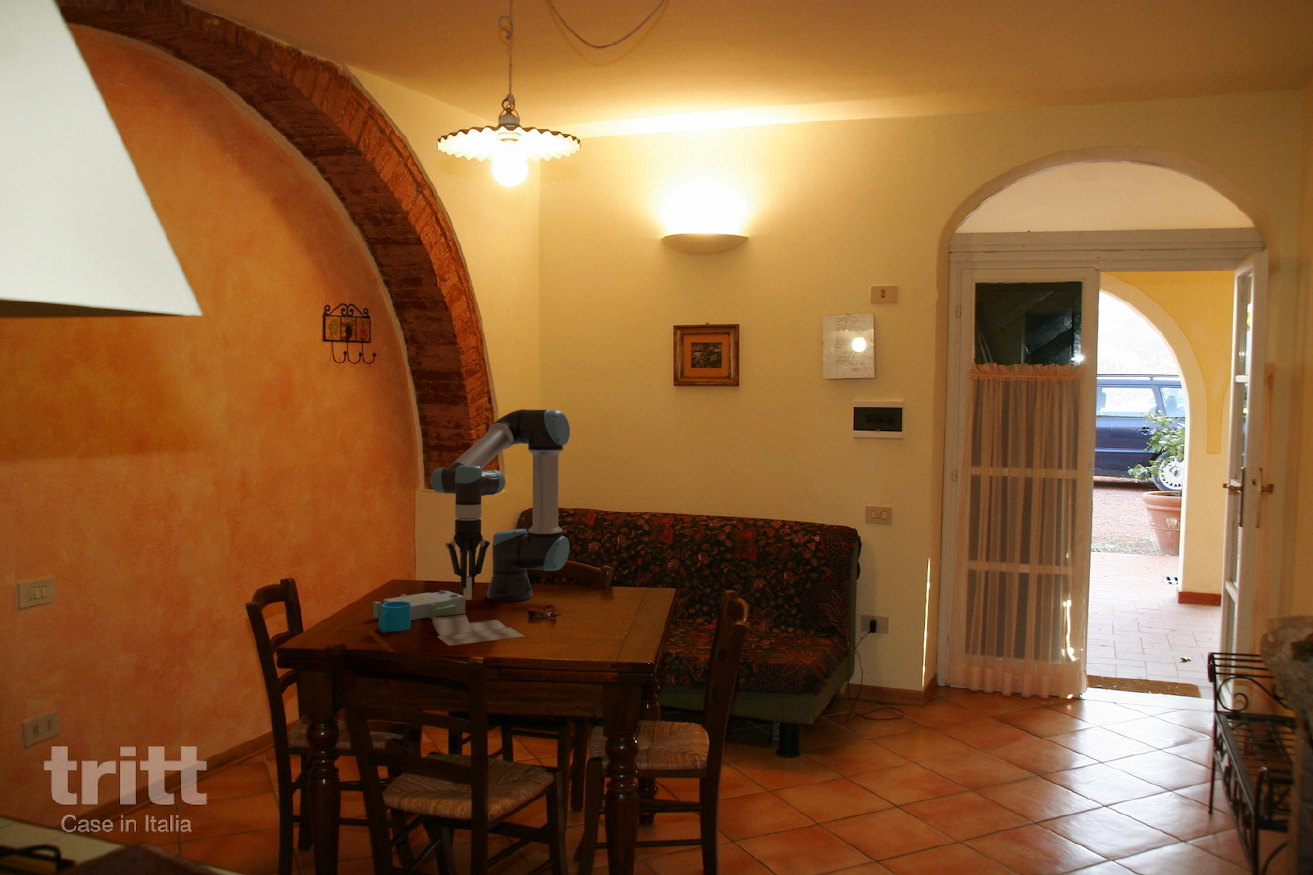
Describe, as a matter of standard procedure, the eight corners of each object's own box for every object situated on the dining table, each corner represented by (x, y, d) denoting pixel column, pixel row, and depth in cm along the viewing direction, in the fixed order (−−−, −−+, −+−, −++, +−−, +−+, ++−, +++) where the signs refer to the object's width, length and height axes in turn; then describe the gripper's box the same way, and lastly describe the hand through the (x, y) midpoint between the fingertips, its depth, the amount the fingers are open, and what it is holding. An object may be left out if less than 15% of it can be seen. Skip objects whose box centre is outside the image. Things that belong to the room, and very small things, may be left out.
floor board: (510, 631, 277) (510, 627, 277) (524, 640, 268) (524, 635, 268) (436, 640, 266) (436, 636, 266) (449, 649, 257) (449, 645, 256)
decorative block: (440, 586, 311) (472, 596, 296) (440, 605, 311) (472, 616, 296) (366, 597, 293) (397, 608, 278) (366, 617, 293) (397, 630, 279)
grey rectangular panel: (474, 635, 272) (475, 631, 272) (465, 627, 279) (466, 623, 279) (506, 631, 277) (507, 627, 277) (497, 623, 284) (497, 619, 284)
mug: (393, 627, 281) (392, 600, 280) (416, 630, 278) (416, 602, 277) (367, 637, 269) (367, 608, 269) (391, 640, 267) (391, 611, 266)
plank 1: (440, 639, 267) (440, 635, 267) (432, 621, 273) (433, 618, 273) (473, 634, 272) (473, 631, 272) (465, 618, 278) (465, 614, 278)
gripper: (484, 516, 281) (483, 594, 282) (442, 518, 274) (441, 598, 275) (494, 518, 274) (493, 599, 275) (450, 521, 268) (450, 603, 268)
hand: (467, 598), depth 275 cm, fingers closed
